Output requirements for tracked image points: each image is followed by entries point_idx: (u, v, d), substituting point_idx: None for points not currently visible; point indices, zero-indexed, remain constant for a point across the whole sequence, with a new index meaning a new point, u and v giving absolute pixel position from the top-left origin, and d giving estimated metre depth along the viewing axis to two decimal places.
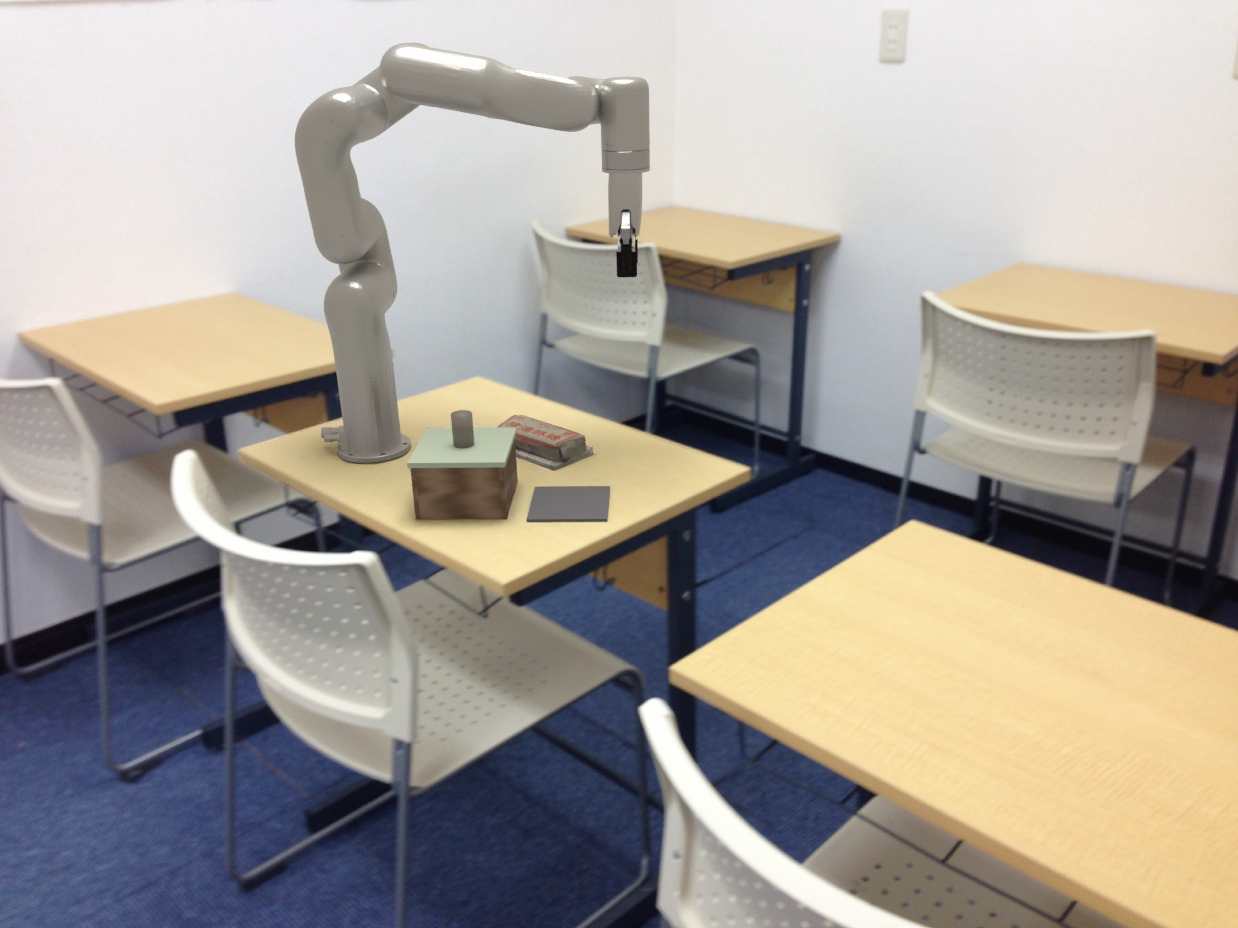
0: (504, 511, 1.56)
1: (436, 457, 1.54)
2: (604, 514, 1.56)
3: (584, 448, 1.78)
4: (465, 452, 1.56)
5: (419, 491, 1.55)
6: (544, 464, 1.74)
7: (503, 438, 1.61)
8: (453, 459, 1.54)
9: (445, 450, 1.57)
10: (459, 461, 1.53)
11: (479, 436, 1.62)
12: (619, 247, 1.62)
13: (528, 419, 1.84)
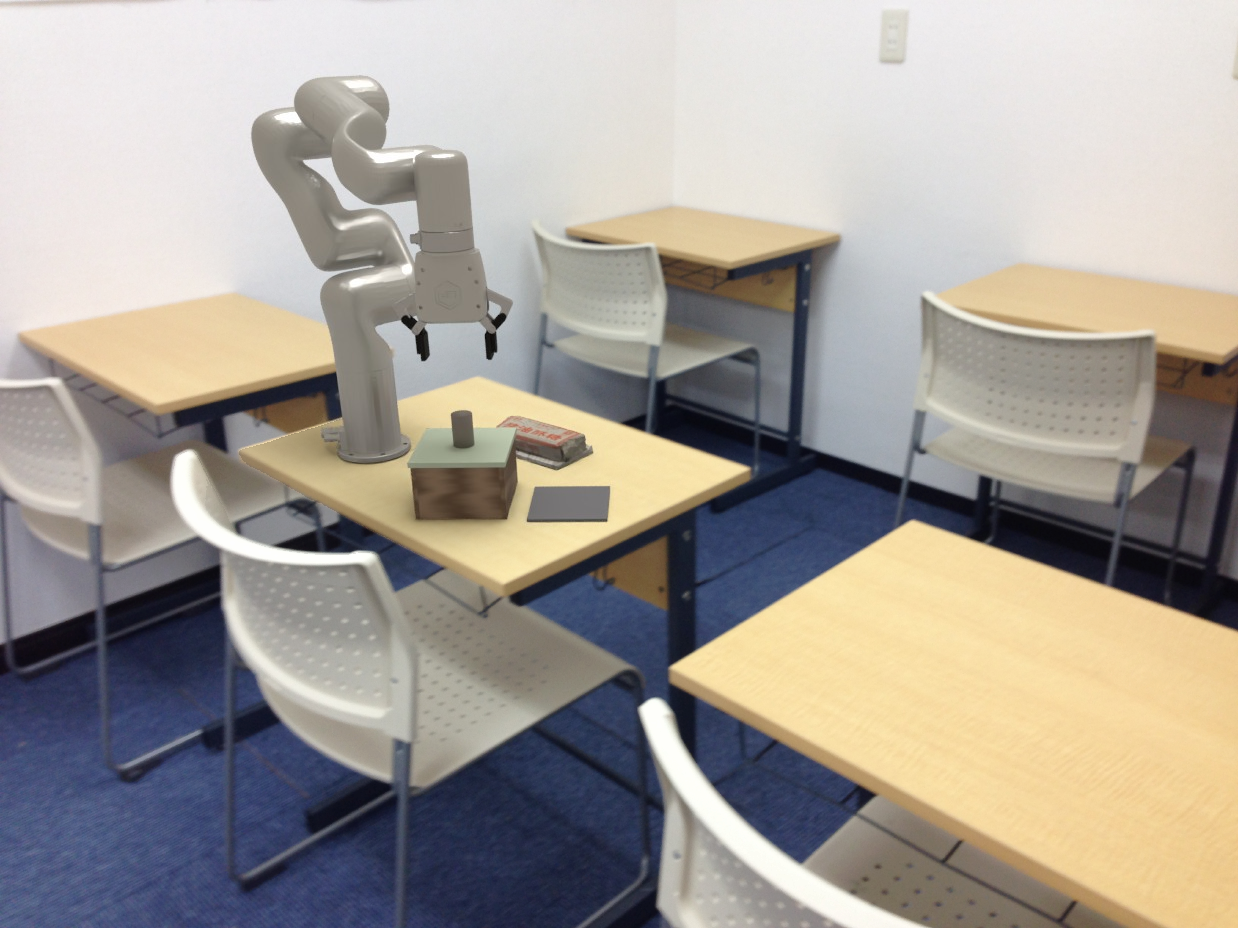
0: (504, 511, 1.56)
1: (436, 457, 1.54)
2: (604, 514, 1.56)
3: (584, 447, 1.78)
4: (465, 452, 1.56)
5: (419, 491, 1.55)
6: (546, 464, 1.74)
7: (503, 438, 1.61)
8: (453, 459, 1.54)
9: (445, 450, 1.57)
10: (459, 461, 1.53)
11: (479, 436, 1.62)
12: (495, 326, 1.51)
13: (525, 420, 1.83)
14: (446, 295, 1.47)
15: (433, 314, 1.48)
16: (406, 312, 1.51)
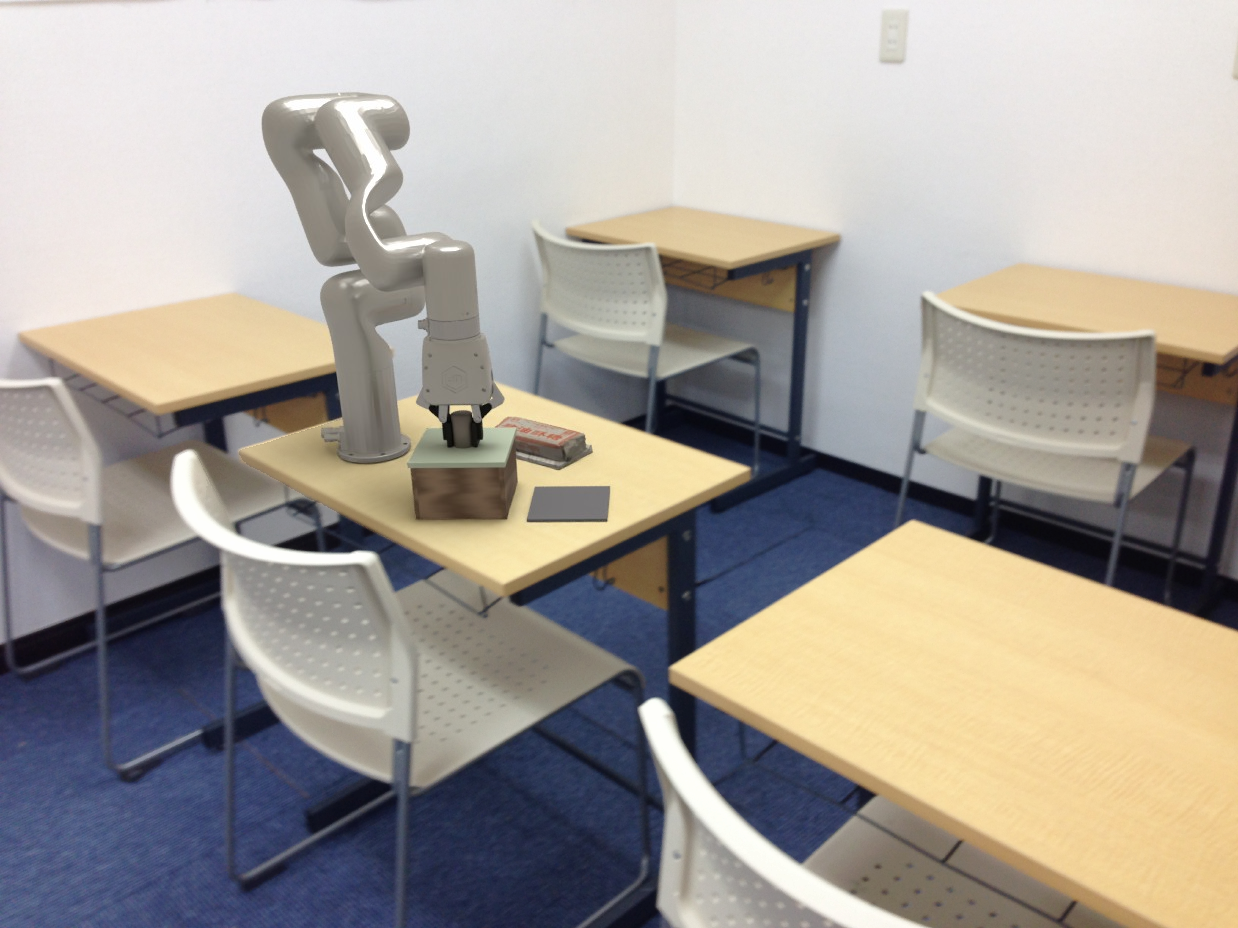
0: (504, 511, 1.56)
1: (436, 457, 1.54)
2: (604, 514, 1.56)
3: (584, 446, 1.78)
4: (465, 452, 1.56)
5: (419, 491, 1.55)
6: (548, 464, 1.74)
7: (503, 438, 1.61)
8: (453, 459, 1.54)
9: (445, 450, 1.57)
10: (459, 461, 1.53)
11: None
12: (481, 418, 1.56)
13: (523, 420, 1.83)
14: (453, 379, 1.52)
15: (440, 397, 1.53)
16: None
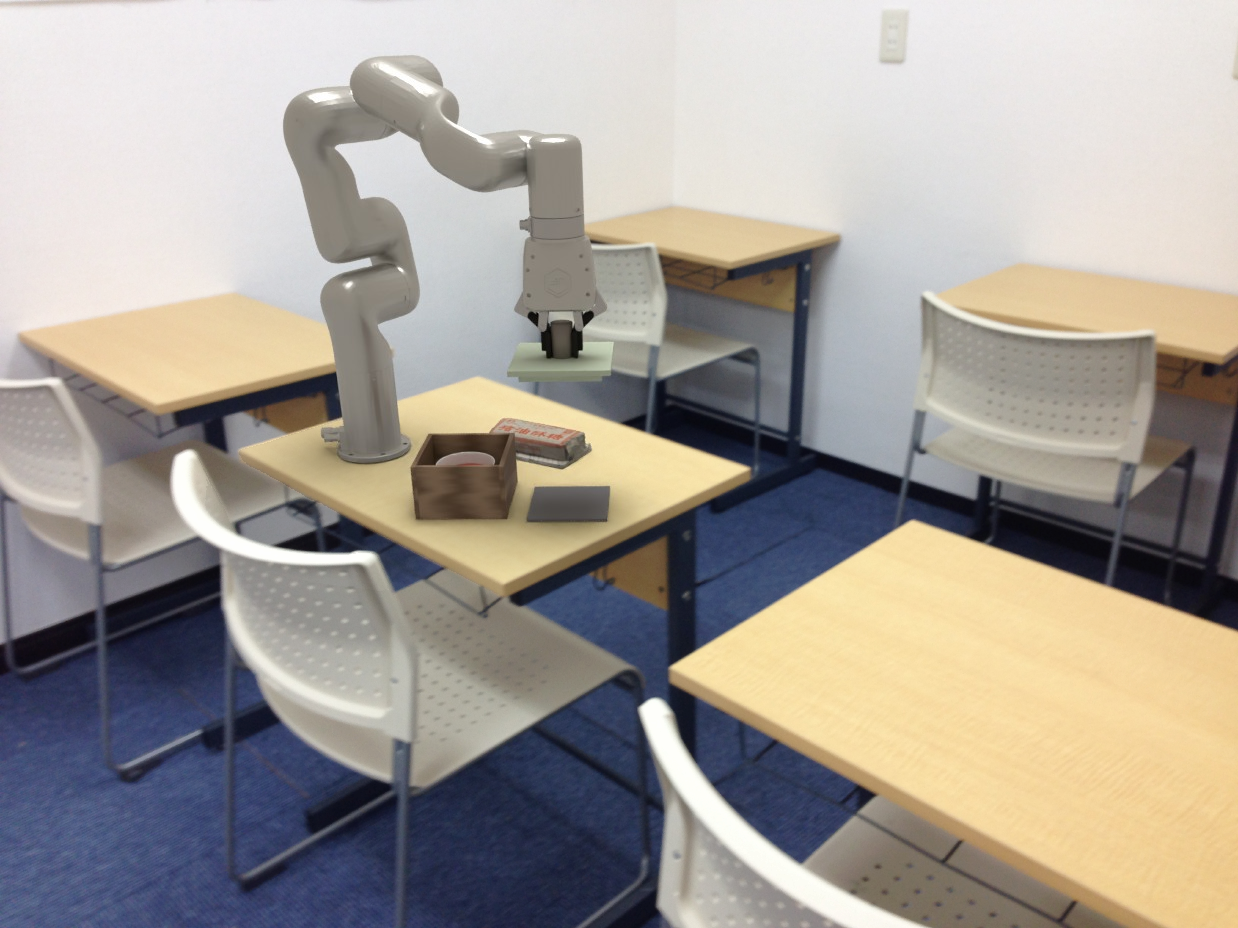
0: (504, 511, 1.56)
1: (536, 367, 1.46)
2: (604, 514, 1.56)
3: (584, 445, 1.79)
4: (566, 362, 1.48)
5: (419, 491, 1.55)
6: (550, 464, 1.74)
7: (603, 350, 1.53)
8: (555, 368, 1.46)
9: (544, 361, 1.49)
10: (562, 370, 1.45)
11: None
12: (583, 326, 1.48)
13: (519, 421, 1.83)
14: (556, 282, 1.44)
15: (541, 302, 1.45)
16: None
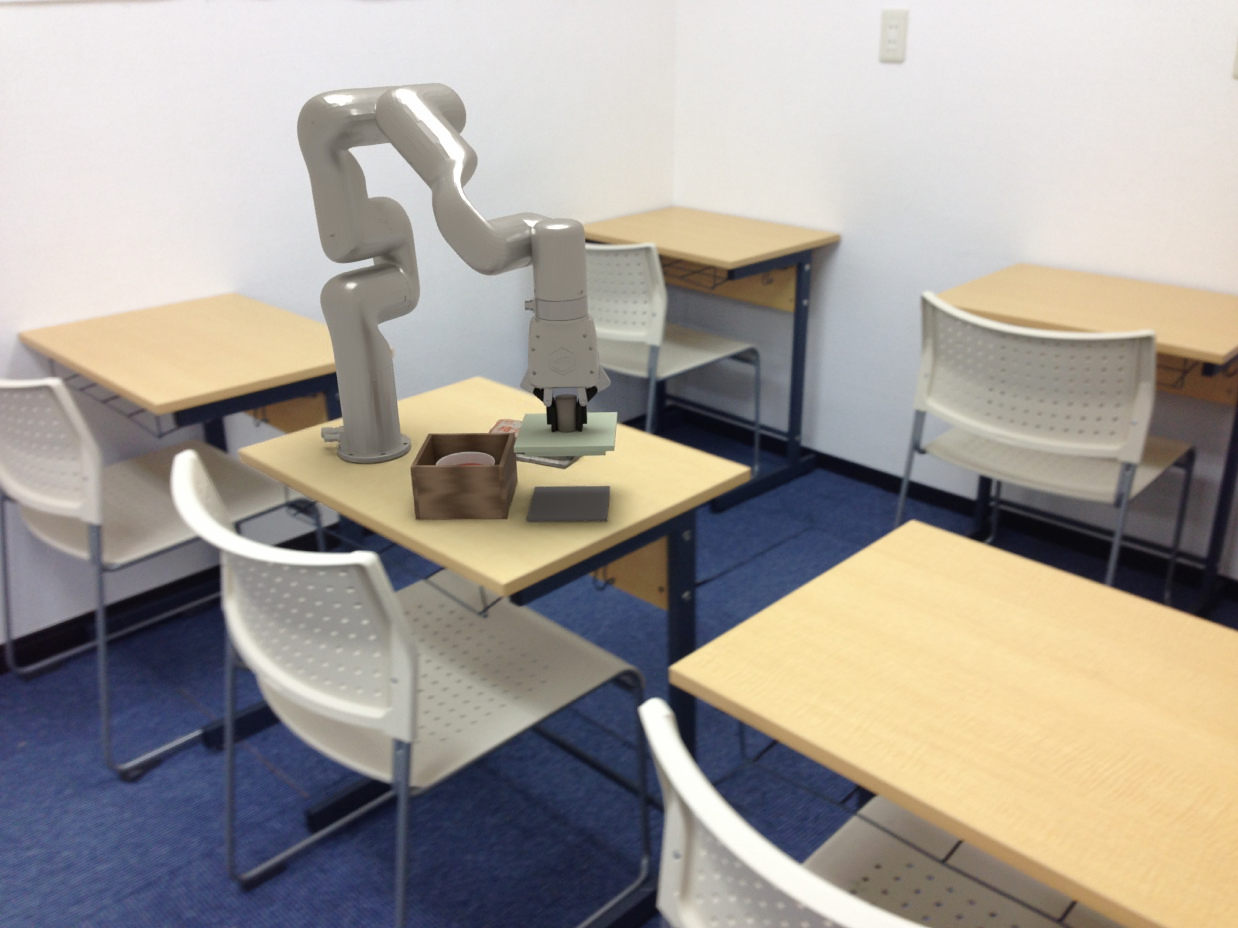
0: (504, 511, 1.56)
1: (542, 442, 1.51)
2: (604, 514, 1.56)
3: None
4: (571, 436, 1.52)
5: (419, 491, 1.55)
6: (552, 464, 1.74)
7: (606, 422, 1.57)
8: (560, 443, 1.50)
9: (550, 434, 1.53)
10: (567, 445, 1.49)
11: None
12: (587, 401, 1.53)
13: (517, 422, 1.82)
14: (561, 361, 1.48)
15: (546, 379, 1.50)
16: None
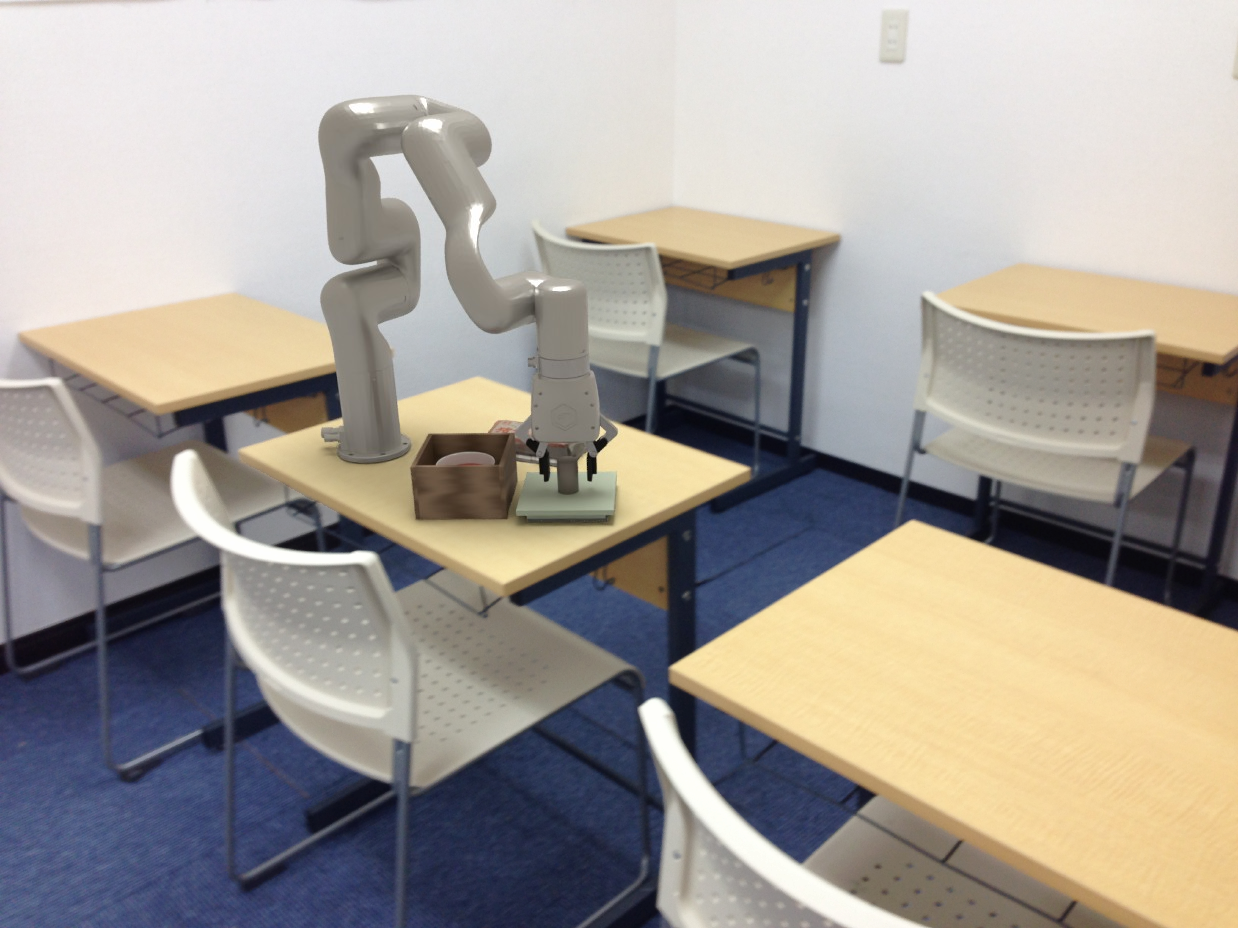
0: (504, 511, 1.56)
1: (544, 504, 1.55)
2: None
3: (583, 444, 1.79)
4: (571, 499, 1.56)
5: (419, 491, 1.55)
6: (554, 464, 1.74)
7: (606, 483, 1.61)
8: (561, 506, 1.54)
9: (551, 496, 1.57)
10: (568, 509, 1.53)
11: (581, 481, 1.62)
12: (597, 452, 1.56)
13: (515, 423, 1.82)
14: (563, 417, 1.52)
15: (548, 434, 1.53)
16: (528, 435, 1.56)
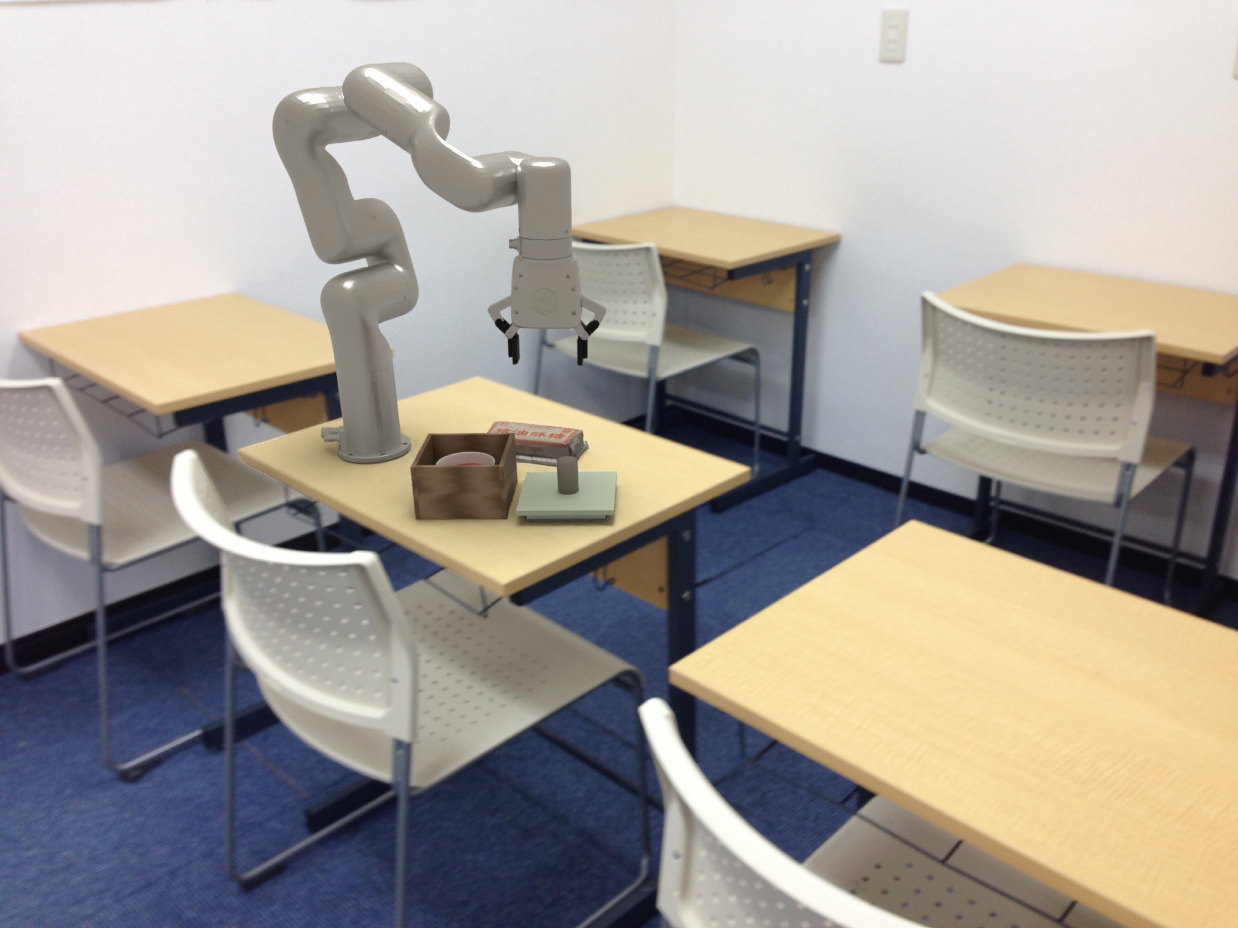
0: (504, 511, 1.56)
1: (544, 504, 1.55)
2: None
3: (583, 443, 1.80)
4: (571, 499, 1.56)
5: (419, 491, 1.55)
6: (555, 463, 1.74)
7: (606, 483, 1.61)
8: (561, 506, 1.54)
9: (551, 496, 1.57)
10: (568, 509, 1.53)
11: (581, 481, 1.62)
12: (587, 333, 1.52)
13: (513, 424, 1.82)
14: (543, 301, 1.49)
15: (528, 319, 1.50)
16: (500, 315, 1.53)
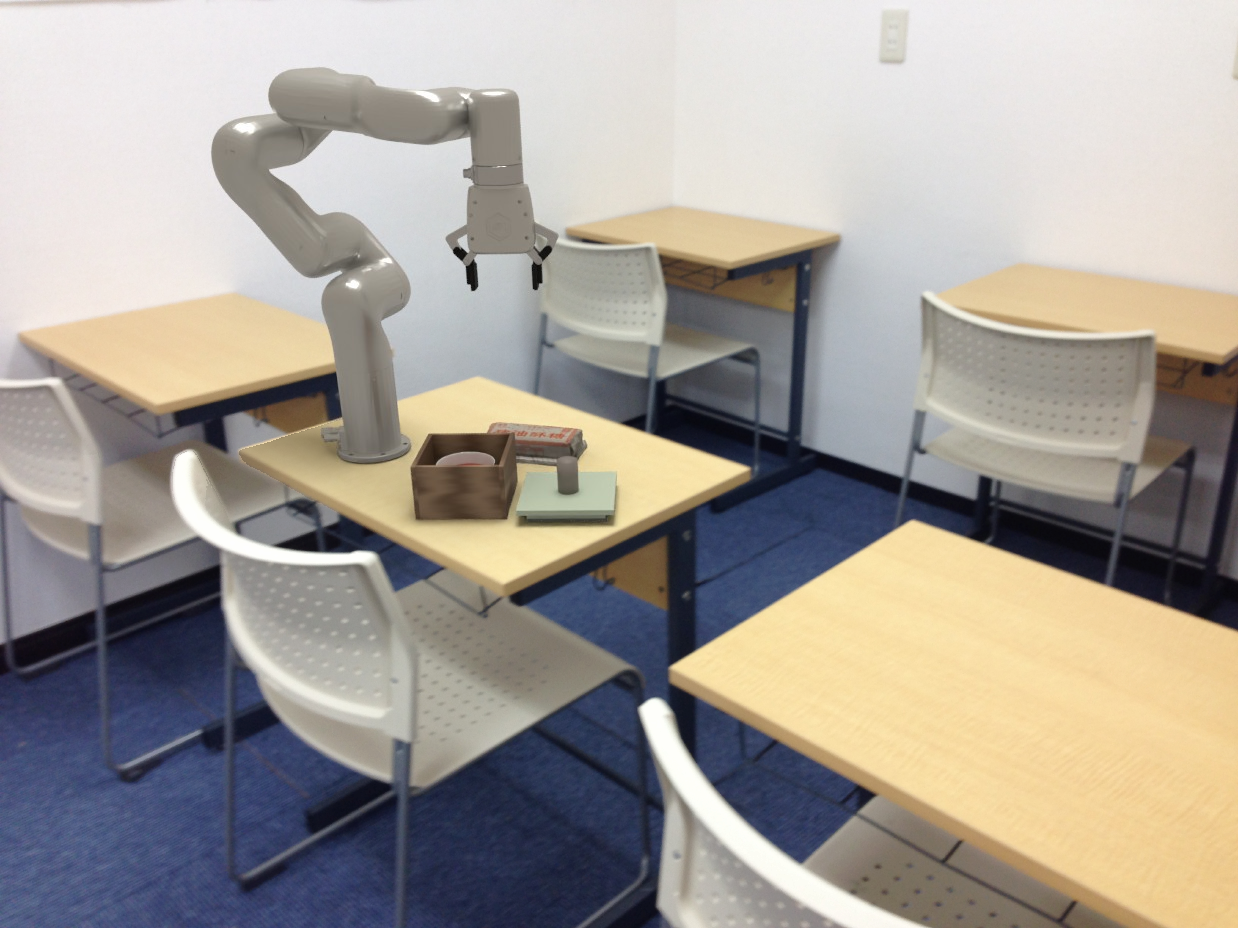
0: (504, 511, 1.56)
1: (544, 504, 1.55)
2: None
3: (582, 442, 1.80)
4: (571, 499, 1.56)
5: (419, 491, 1.55)
6: None
7: (606, 483, 1.61)
8: (561, 506, 1.54)
9: (551, 496, 1.57)
10: (568, 509, 1.53)
11: (581, 481, 1.62)
12: (541, 258, 1.60)
13: (511, 424, 1.81)
14: (497, 226, 1.56)
15: (484, 245, 1.58)
16: (457, 244, 1.60)
